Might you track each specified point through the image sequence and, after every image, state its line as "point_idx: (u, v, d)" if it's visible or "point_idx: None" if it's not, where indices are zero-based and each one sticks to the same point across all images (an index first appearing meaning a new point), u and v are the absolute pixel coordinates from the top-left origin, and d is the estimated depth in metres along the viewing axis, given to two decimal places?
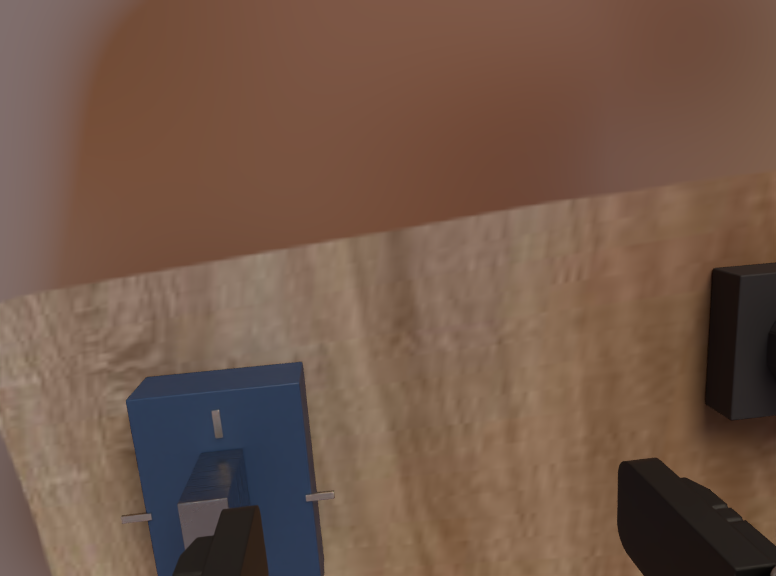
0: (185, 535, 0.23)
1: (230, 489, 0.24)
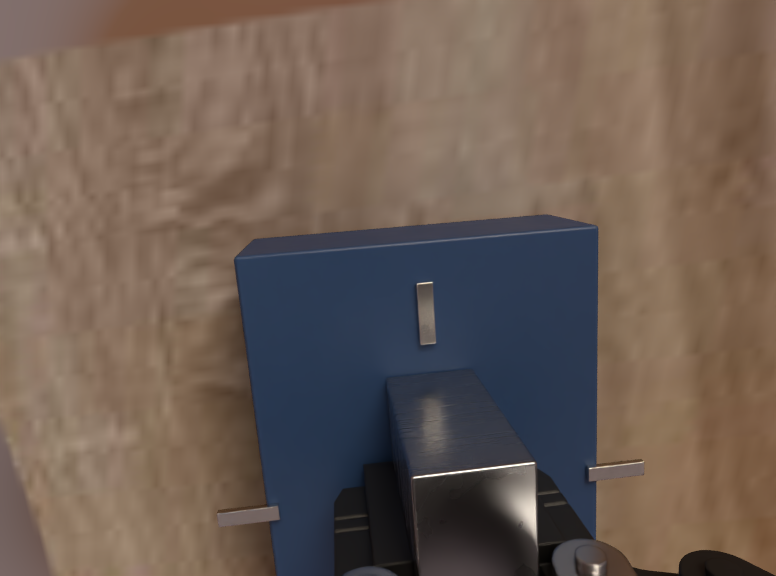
0: (425, 559, 0.09)
1: None
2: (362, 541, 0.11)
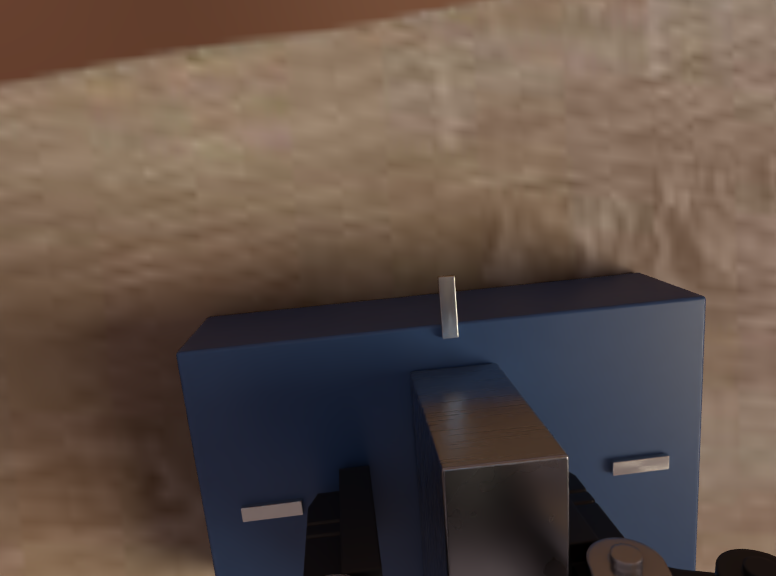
0: (455, 551, 0.09)
1: None
2: (334, 547, 0.11)
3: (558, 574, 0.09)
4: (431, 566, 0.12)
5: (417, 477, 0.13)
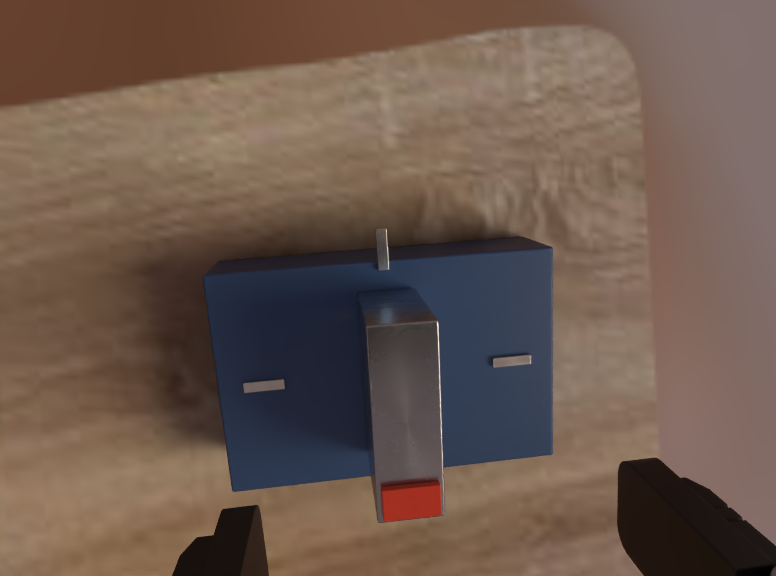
0: (373, 376, 0.15)
1: None
2: None
3: (434, 392, 0.16)
4: (367, 412, 0.18)
5: None
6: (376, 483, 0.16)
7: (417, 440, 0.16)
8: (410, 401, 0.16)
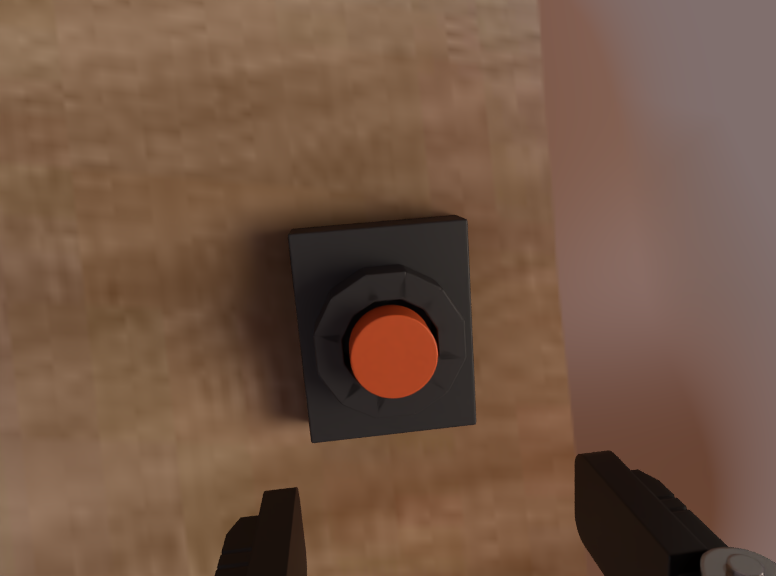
0: None
1: None
2: None
3: None
4: None
5: None
6: None
7: None
8: None
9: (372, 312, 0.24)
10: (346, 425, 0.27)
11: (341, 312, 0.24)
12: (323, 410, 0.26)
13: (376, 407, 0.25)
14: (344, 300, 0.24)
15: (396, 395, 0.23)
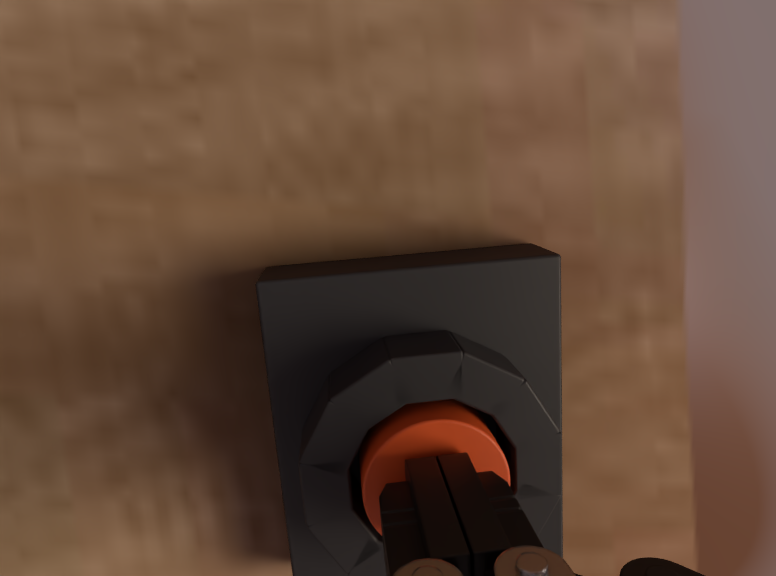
0: None
1: None
2: (413, 535, 0.11)
3: None
4: None
5: None
6: None
7: None
8: None
9: None
10: None
11: (348, 423, 0.13)
12: (317, 565, 0.16)
13: None
14: (353, 403, 0.13)
15: None
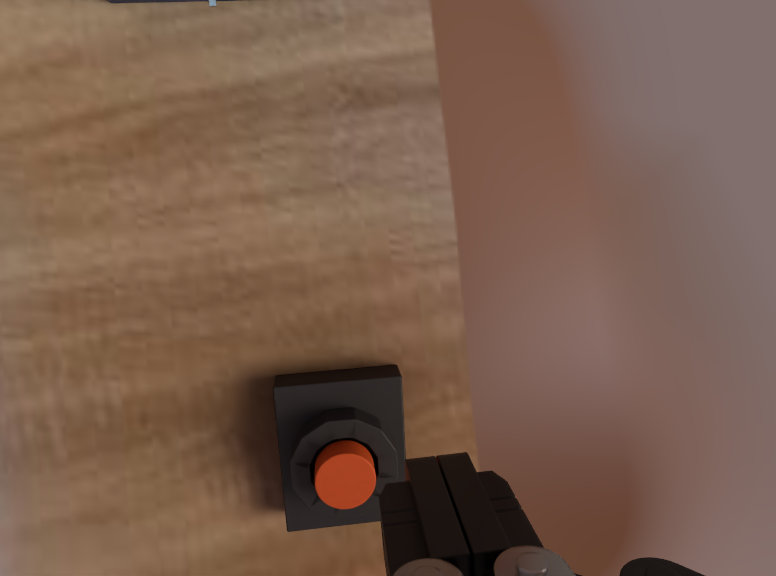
0: None
1: None
2: (413, 535, 0.11)
3: None
4: None
5: None
6: None
7: None
8: None
9: (331, 447, 0.34)
10: (312, 519, 0.37)
11: (309, 447, 0.34)
12: (296, 508, 0.36)
13: (333, 511, 0.35)
14: (311, 439, 0.34)
15: (346, 507, 0.33)
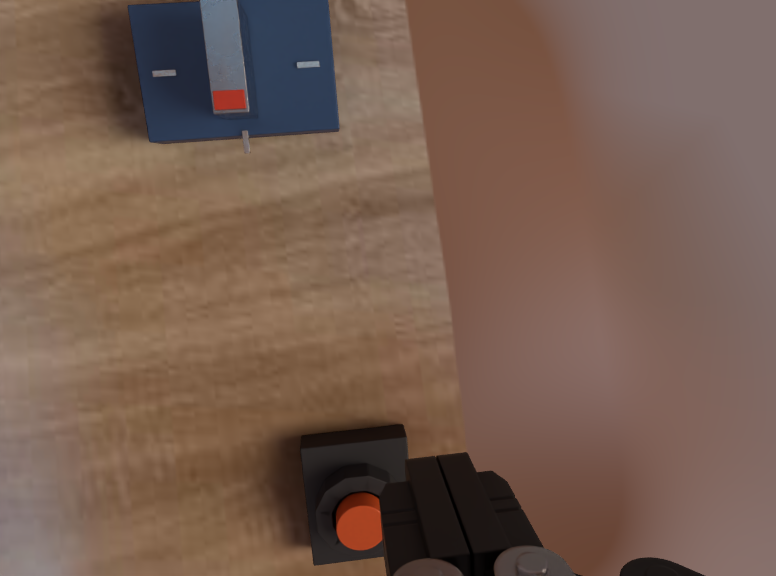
0: (204, 26, 0.31)
1: (239, 2, 0.31)
2: (413, 534, 0.11)
3: (237, 37, 0.31)
4: None
5: None
6: (210, 89, 0.31)
7: (230, 65, 0.31)
8: (225, 42, 0.31)
9: (349, 499, 0.41)
10: (335, 554, 0.44)
11: (331, 499, 0.41)
12: (320, 546, 0.44)
13: (352, 550, 0.42)
14: (333, 492, 0.41)
15: (362, 548, 0.40)
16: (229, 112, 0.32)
